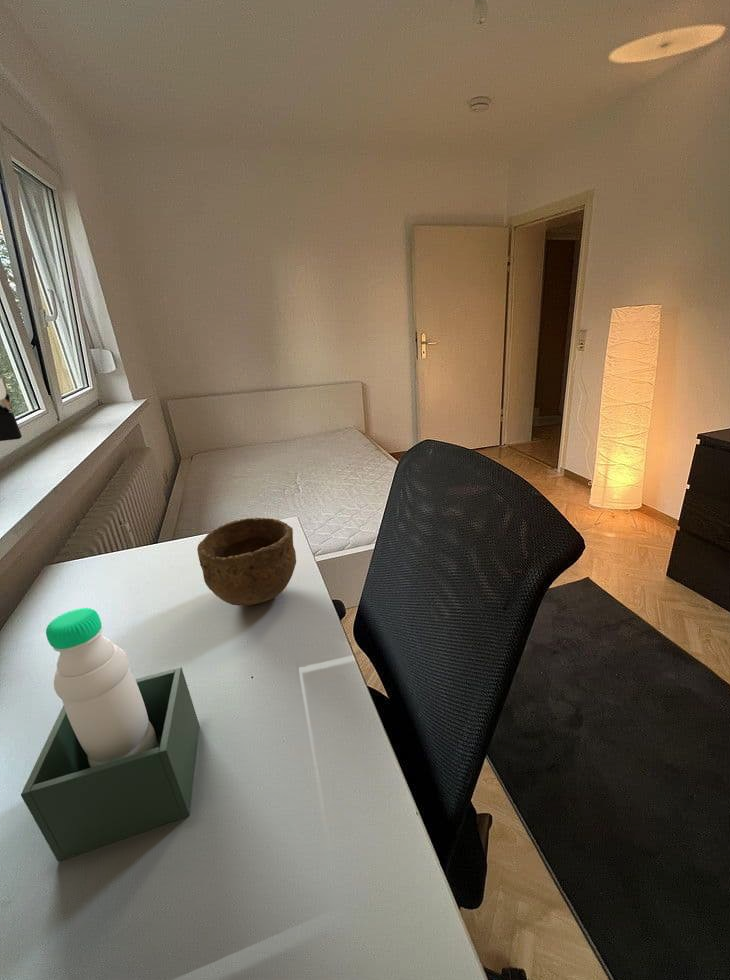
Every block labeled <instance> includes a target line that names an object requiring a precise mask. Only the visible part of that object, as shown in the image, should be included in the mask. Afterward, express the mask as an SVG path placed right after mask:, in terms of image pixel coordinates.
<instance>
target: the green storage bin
mask: <svg viewBox="0 0 730 980" xmlns="http://www.w3.org/2000/svg"><path fill="white" fill-rule="evenodd" d="M135 680H136V683H137V685H138V688H139V690H140V693H141V696H142V699H143V701H144V705H145V708H146V711H147V715H148V720H149V722H150V723H151V725H152V726H153V729H154V731H155V734H156V739H157V742H158V744H159V746H160V747H158V748H154V749H151V750H148V751H144V752H141V753H138V754H134V755H131V756H128V757H125V758H121V759H118V760H115V761H111V762H108V763H105V764H101V765H98V766H95V767H92V768H91V767H90V765H89V762H88V755H87V754H86V752H85V751H84V749H83V748H82V746H81V744H80V742H79V741H78V739H77V737H76V735H75V732H74V730H73V728H72V726H71V724H70V721H69V719H68V716H67V714H66V711H65V708H64V705H63V704H62V707H61V710H60V711H59V713H58V715H57V718H56V720H55V722H54V724H53V725H52V729H51V731H50V732H49V734H48V736H47V739H46V740H45V743H44V745H43V747H42V749H41V752H40V753H39V756H38V758H37V759H36V762H35V764H34V766H33V768H32V770H31V771H30V774H29V777H28V779H27V781H26V783H25V784H24V786H23V789H22V791H21V793H20V796H21V798H22V800H23V802H24V804H25V806H26V807H27V809H28V811H29V813H30V815H31V817H32V818H33V820H34V821H35V823H36V825H37V828H38V829H39V830H40V833H41V835H42V836H43V838H44V840H45V841H46V843H47V844H48V847H49V848H50V850H51V852H52V854H53V856H54V857H55V860H56V861H57V862H61V861H63V860H66V859H69V858H73V857H75V856H78V855H80V854H83V853H86V852H89V851H93V850H95V849H99V848H101V847H104V846H107V845H109V844H112V843H115V842H118V841H120V840H123V839H126V838H130V837H133V836H135V835H138V834H141V833H145V832H146V831H150V830H152V829H155V828H158V827H160V826H164V825H167V824H169V823H172V822H175V821H178V820H181V819H183V818H186V817H189V816H190V815H191V806H192V799H193V798H192V797H193V788H194V779H195V770H196V761H197V753H198V752H197V751H198V745H199V744H198V743H199V734H200V723H199V720H198V716H197V712H196V709H195V706H194V702H193V699H192V696H191V694H190V690H189V686H188V684H187V681H186V677H185V674H184V670H183V668H182V667H181V666H180V667H177V668H172V669H168V670H165V671H161V672H158V673H153V674H149V675H146V676H141V677H137V678H135Z"/></svg>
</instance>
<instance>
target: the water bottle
mask: <svg viewBox="0 0 730 980" xmlns="http://www.w3.org/2000/svg"><path fill="white" fill-rule="evenodd" d="M102 633H103V626H102V620H101V618H100V615H99V614H98V612H97V611H96V610H94V609H93V608H92V607H82V608H81V607H79V608H76V609H72V610H68V611H67V612H64V613H62V614H61V615H58V616H57V617H55V618H54V619H52V620H51V621H50V622H49V623H48V625H47V626H46V628H45V637H46V640H47V642H48V643H49V646H50V647H52V648H53V650H54V651H55V652H59V655H58V658H57V661H56V669H55V674H54V676H53V677H54V678H53V689H54V691H55V693H56V695H57V696H58V697H59V698H60V699H61V700H62V706H63V705H64V708H65V711H66V714H67V716H68V719H69V721H70V724H71V726H72V728H73V730H74V732H75V735H76V737H77V739H78V741H79V742H80V744H81V746H82V748H83V749H84V751H85V752H86V754H87V755H88V762H89V765H90V767H91V768H92V767H95V766H98V765H101V764H105V763H108V762H111V761H115V760H118V759H121V758H125V757H128V756H131V755H134V754H138V753H141V752H144V751H148V750H151V749H154V748H158V747H160V746H159V744H158V742H157V739H156V734H155V731H154V729H153V726H152V725H151V723H150V722H149V720H148V715H147V711H146V708H145V705H144V701H143V699H142V696H141V693H140V690H139V688H138V685H137V683H136V680H135V679H136V678H135V676H134V674H133V672H132V670H131V668H130V661H129V660H130V659H129V658H128V655H127V654H126V652H125V651H124V650H123V649H122V648H121V647H120V646H118V645H116V644H115V643H113V642H112V641H111V640H110V639H109V638H107V637H105V636H102V635H101V634H102Z"/></svg>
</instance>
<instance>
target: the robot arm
mask: <svg viewBox="0 0 730 980" xmlns="http://www.w3.org/2000/svg"><path fill="white" fill-rule="evenodd" d="M10 400H11V397H10V394H9V393H8V388H7V382H6V380H4V379H3V378H2V376H1V375H0V442H4V441H14V440H20V439H22V437H23V435H22V433H21V430H20V428H19V425H18V421H17V420H16V417H15V414H14V412H13V411H14V408H13V406H12V404H11V403H10Z"/></svg>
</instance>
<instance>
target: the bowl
mask: <svg viewBox="0 0 730 980" xmlns="http://www.w3.org/2000/svg"><path fill="white" fill-rule="evenodd" d="M196 551H197V557H198V561H199V565H200V567H201V570H202V575H203V576H202V577H203V581H204V583H205V585H206V586H207V588H208V590H210V591H211V592H212V593H213V594H214V595H215V596H216V597H218V598H219V599H220V600H222V601H223V602H224V603H226V604H229V605H232V606H250V605H252V606H253V605H256V604H260V603H261V604H262V603H264V602H268V601H270V600H273V599H274V598H276V597H277V596H278V595H280V594H281V593H282V592H283V591H284V590H285V589H286V588H287V587H288V585H289V583H290V581H291V579H292V577H293V575H294V571H295V569H296V564H297V555H296V549H295V546H294V530H293V527H291V526H290V525H289V524H288V523H287V522H284V521H282V520H281V519H280V520H279V519H275V518H270V517H268V518H265V517H248V518H240V519H237V520H233V521H230V522H226V523H224V524H222V525H220V526H219V527H216V528H215V529H213V530H211V532H209V533H207V535H205V537H204V538H203V539H202V540H201V541H199V543H198V544H197V549H196Z"/></svg>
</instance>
